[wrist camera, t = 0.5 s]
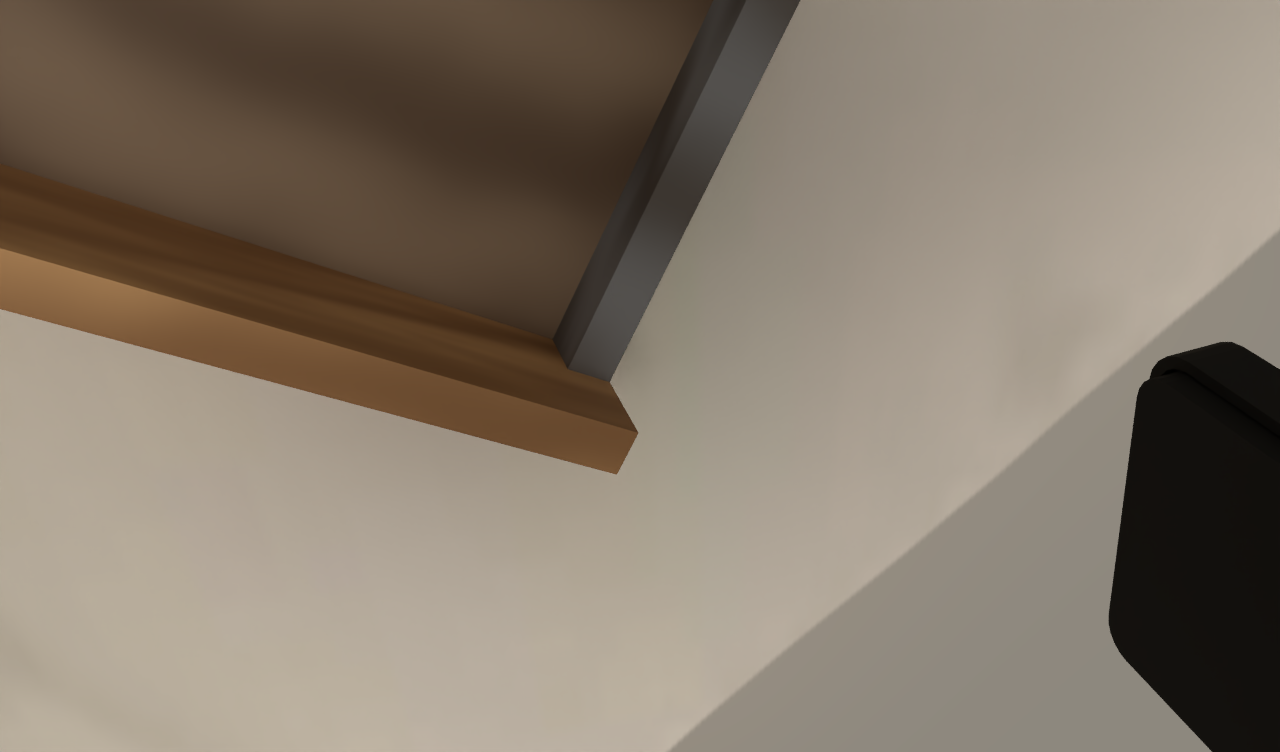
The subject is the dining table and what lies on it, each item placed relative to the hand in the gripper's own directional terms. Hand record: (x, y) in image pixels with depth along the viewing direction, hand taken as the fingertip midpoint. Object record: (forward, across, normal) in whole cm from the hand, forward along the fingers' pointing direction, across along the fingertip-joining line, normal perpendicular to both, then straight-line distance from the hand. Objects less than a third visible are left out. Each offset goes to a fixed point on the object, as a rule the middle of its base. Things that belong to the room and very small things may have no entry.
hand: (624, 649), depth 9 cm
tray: (+27, +1, +1) cm, 27 cm away
